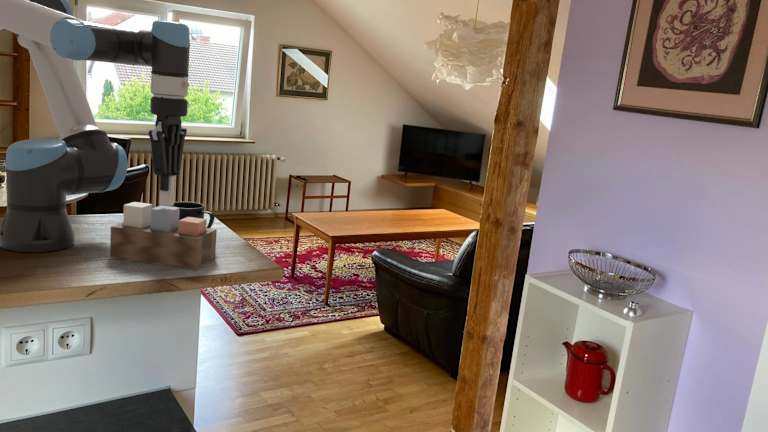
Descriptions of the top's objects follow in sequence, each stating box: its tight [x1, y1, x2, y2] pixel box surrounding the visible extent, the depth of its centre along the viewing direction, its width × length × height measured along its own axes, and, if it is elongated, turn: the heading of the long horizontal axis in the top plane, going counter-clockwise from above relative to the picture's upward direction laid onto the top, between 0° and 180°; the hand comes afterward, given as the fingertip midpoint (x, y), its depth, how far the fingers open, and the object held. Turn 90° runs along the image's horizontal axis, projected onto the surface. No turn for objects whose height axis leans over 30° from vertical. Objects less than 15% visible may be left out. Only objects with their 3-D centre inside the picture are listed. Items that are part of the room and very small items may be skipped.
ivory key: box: [122, 201, 153, 228], centre depth 142 cm, size 4×4×7 cm
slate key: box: [151, 205, 180, 232], centre depth 141 cm, size 4×4×7 cm
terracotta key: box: [179, 217, 208, 236], centre depth 141 cm, size 4×4×7 cm
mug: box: [169, 201, 216, 229], centre depth 155 cm, size 8×12×10 cm
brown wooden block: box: [109, 221, 217, 271], centre depth 142 cm, size 20×10×7 cm, turn 82°
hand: (166, 204), depth 140 cm, fingers closed
